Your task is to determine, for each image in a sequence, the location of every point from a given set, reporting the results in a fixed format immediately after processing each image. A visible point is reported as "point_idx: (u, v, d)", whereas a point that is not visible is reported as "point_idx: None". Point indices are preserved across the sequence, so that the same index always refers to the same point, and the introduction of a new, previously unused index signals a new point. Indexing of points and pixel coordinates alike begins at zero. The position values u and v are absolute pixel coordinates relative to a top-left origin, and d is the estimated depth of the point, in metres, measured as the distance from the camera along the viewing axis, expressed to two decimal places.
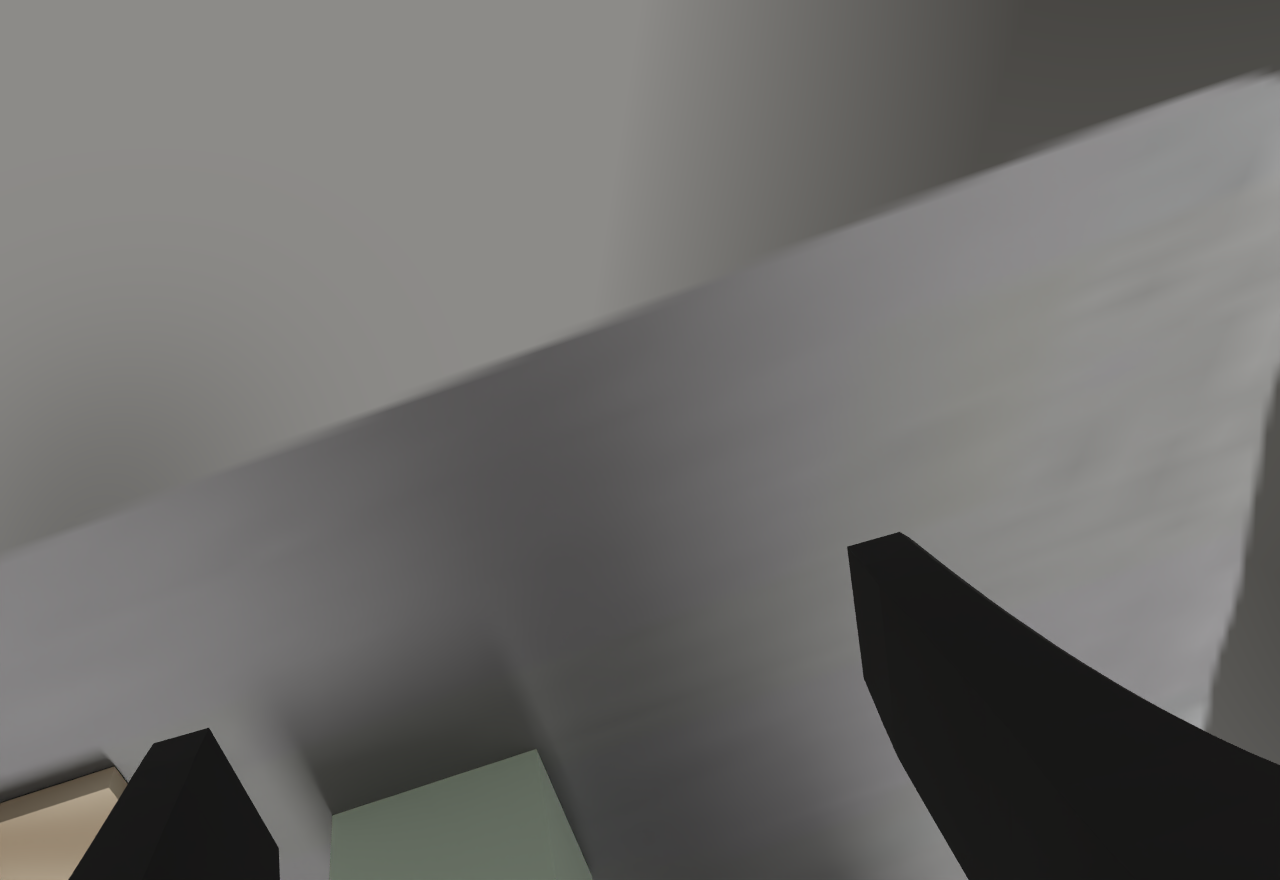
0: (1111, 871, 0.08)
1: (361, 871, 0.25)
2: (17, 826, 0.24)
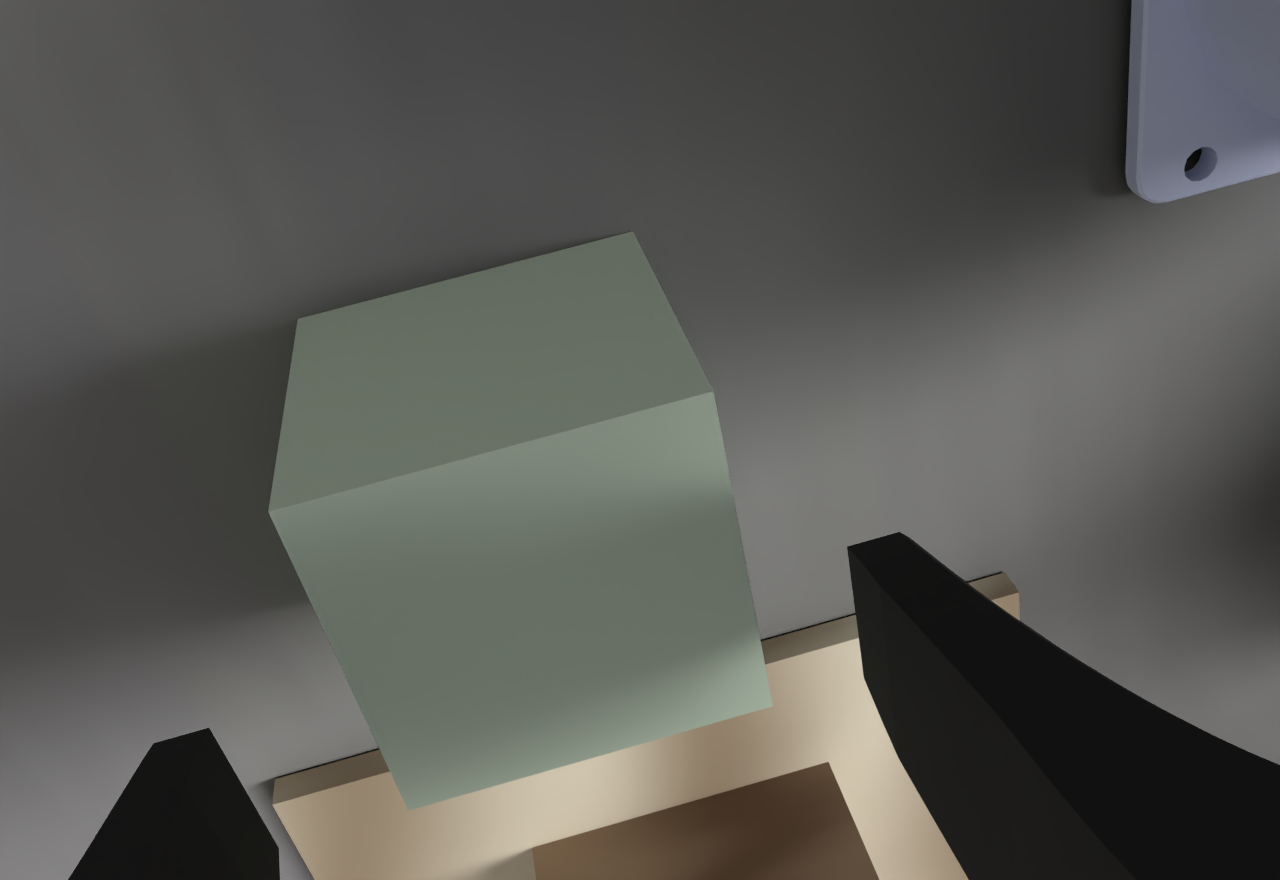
0: (1111, 871, 0.08)
1: None
2: (327, 874, 0.22)
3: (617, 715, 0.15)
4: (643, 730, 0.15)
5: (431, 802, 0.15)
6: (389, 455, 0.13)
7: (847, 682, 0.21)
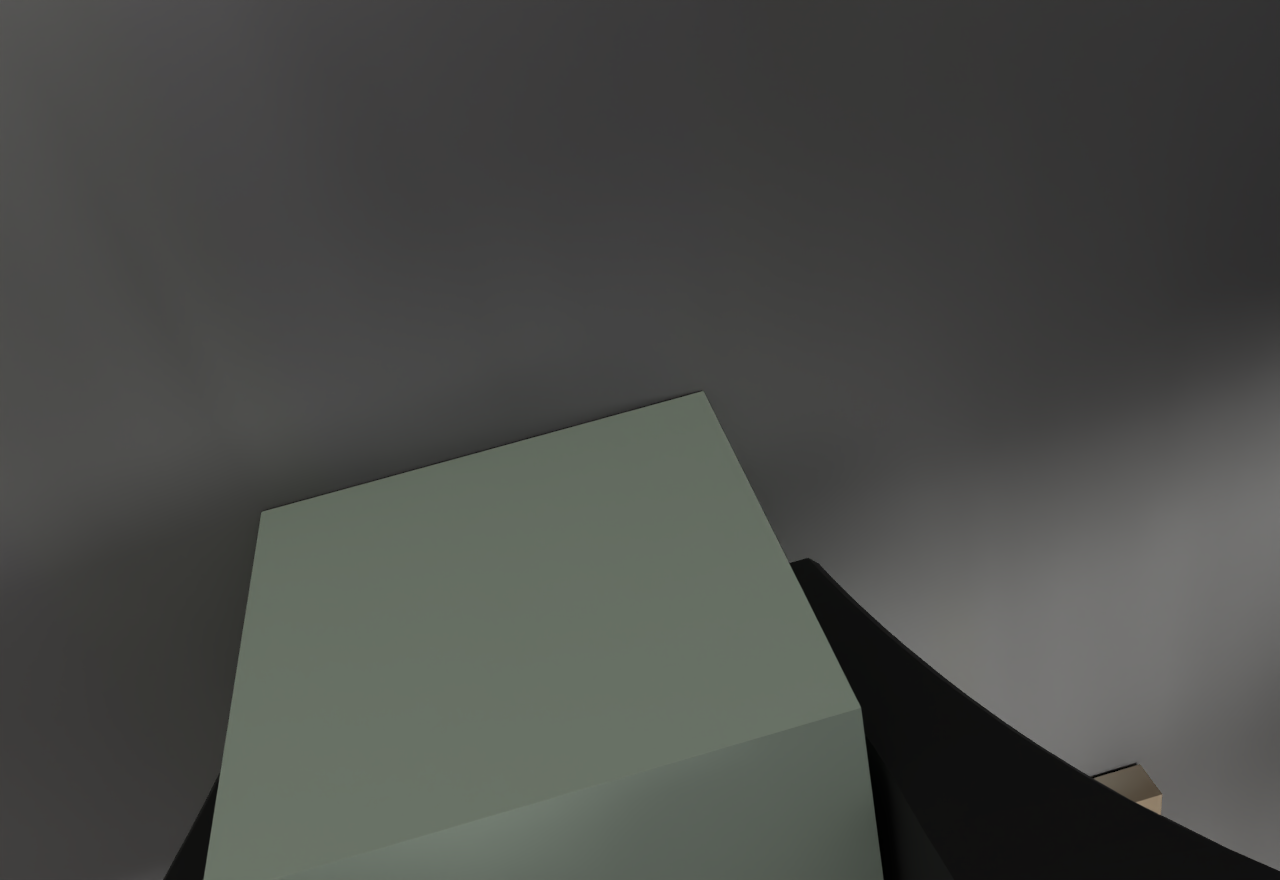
0: None
1: None
2: None
3: None
4: None
5: None
6: (383, 795, 0.09)
7: None
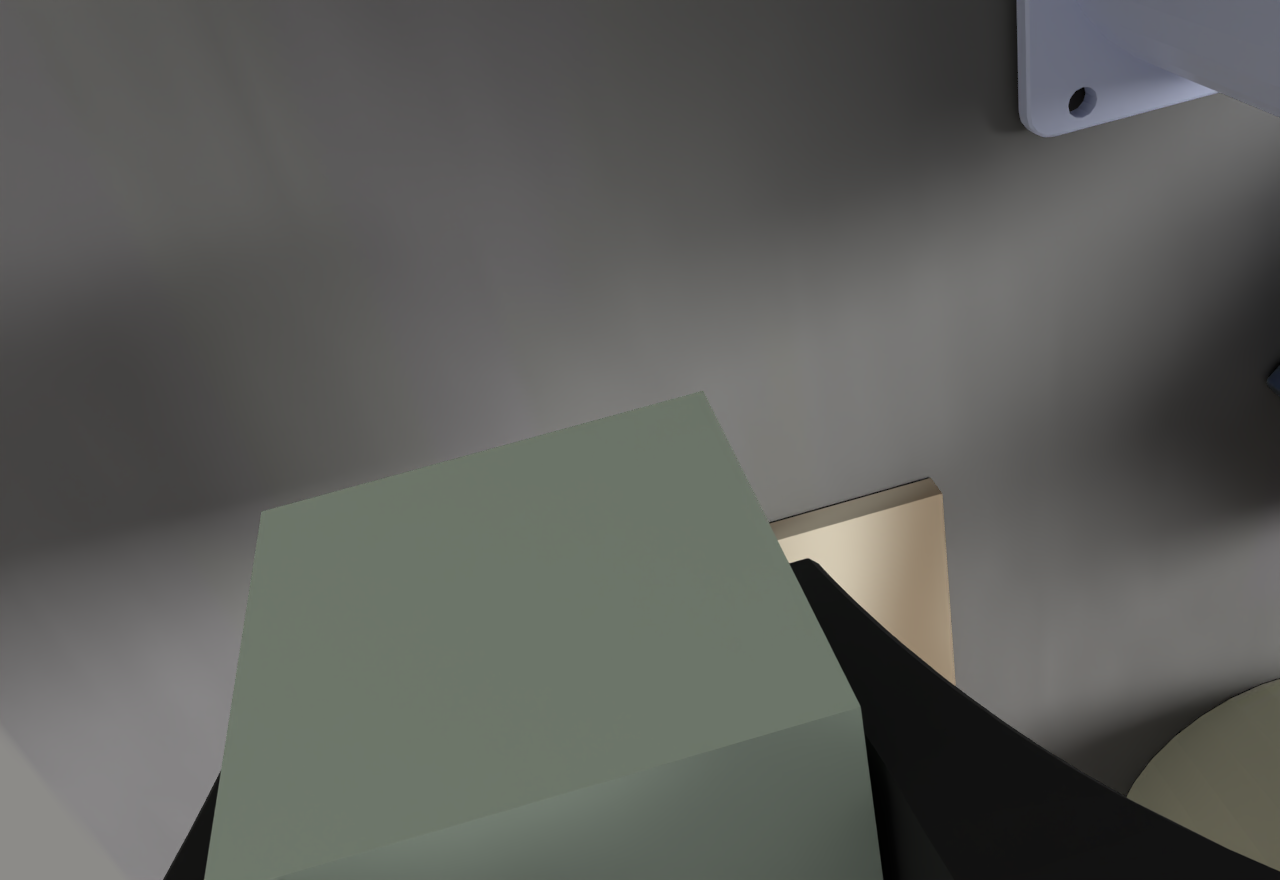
0: None
1: None
2: None
3: None
4: None
5: None
6: (383, 794, 0.09)
7: None
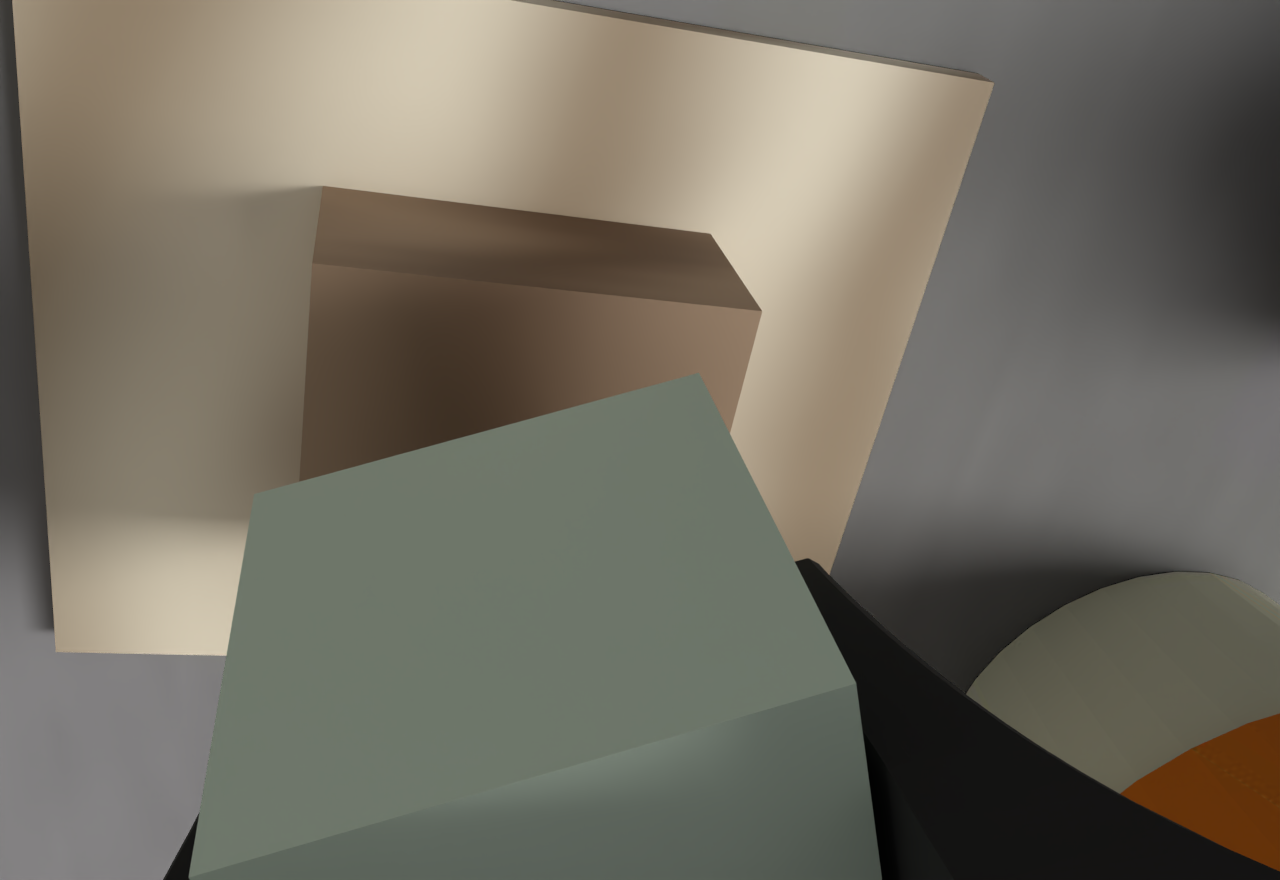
0: None
1: None
2: (38, 88, 0.15)
3: None
4: None
5: None
6: (373, 772, 0.09)
7: (775, 116, 0.18)
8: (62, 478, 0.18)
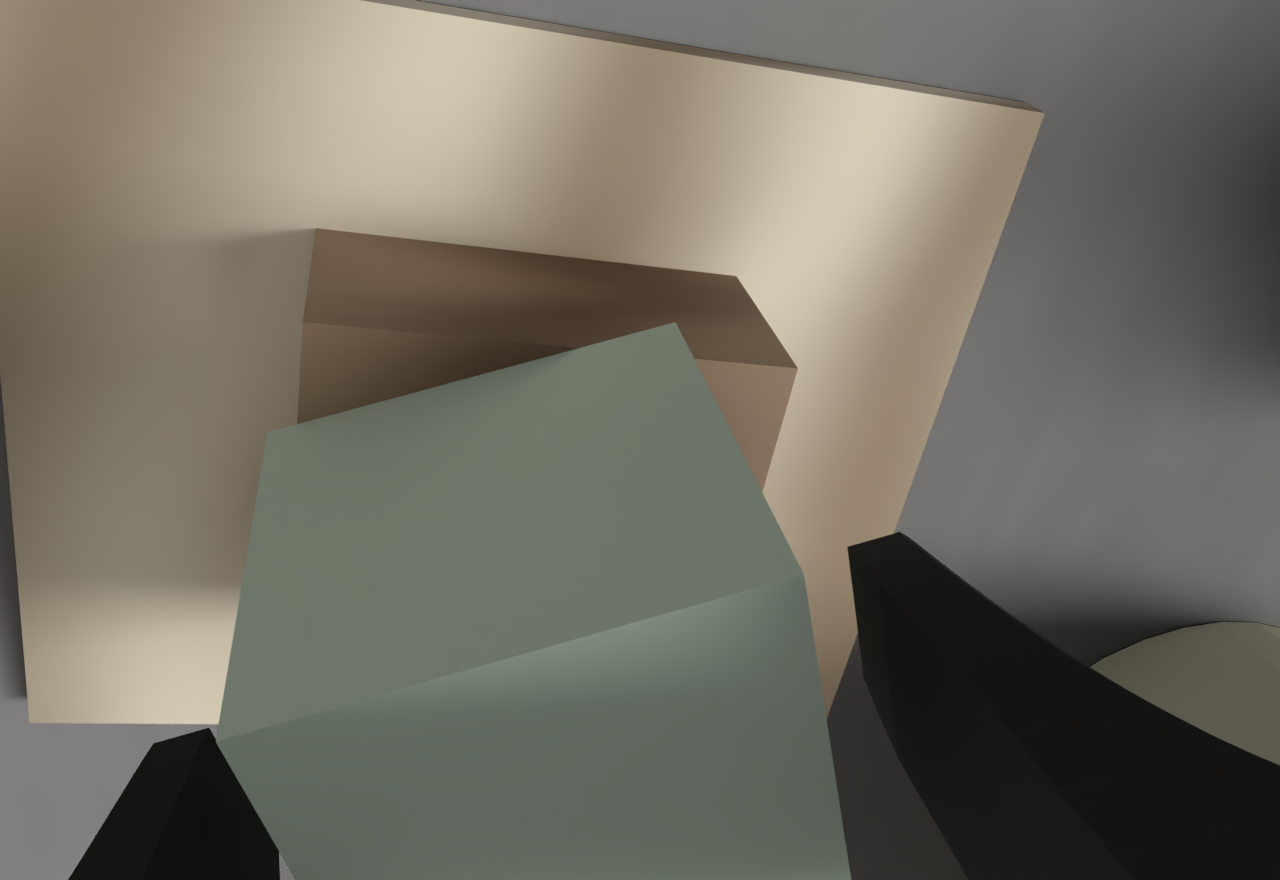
0: (1111, 870, 0.08)
1: None
2: (2, 125, 0.14)
3: None
4: None
5: None
6: (377, 655, 0.10)
7: (807, 150, 0.16)
8: (34, 541, 0.17)
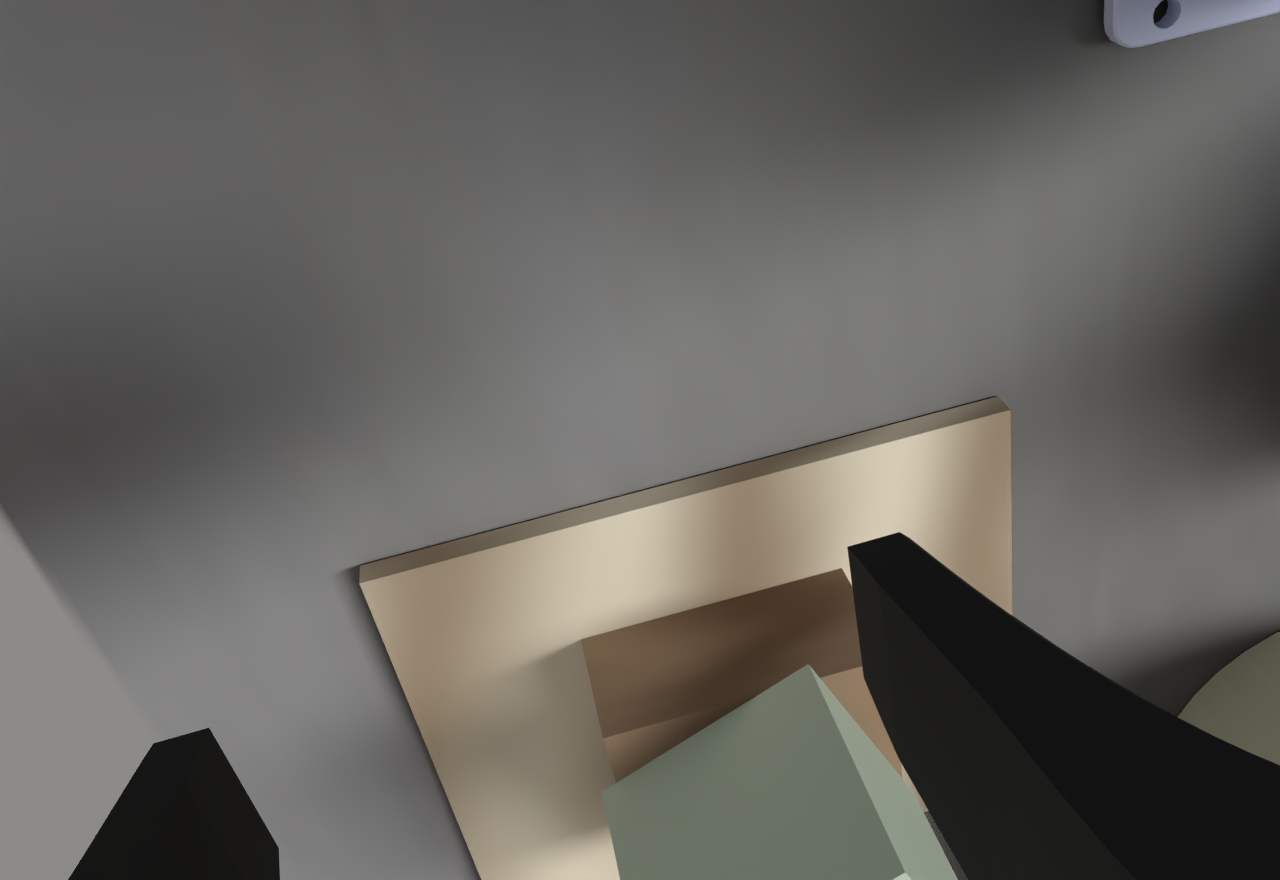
0: (1111, 871, 0.08)
1: None
2: (402, 656, 0.25)
3: None
4: None
5: None
6: None
7: (859, 490, 0.25)
8: (477, 842, 0.28)
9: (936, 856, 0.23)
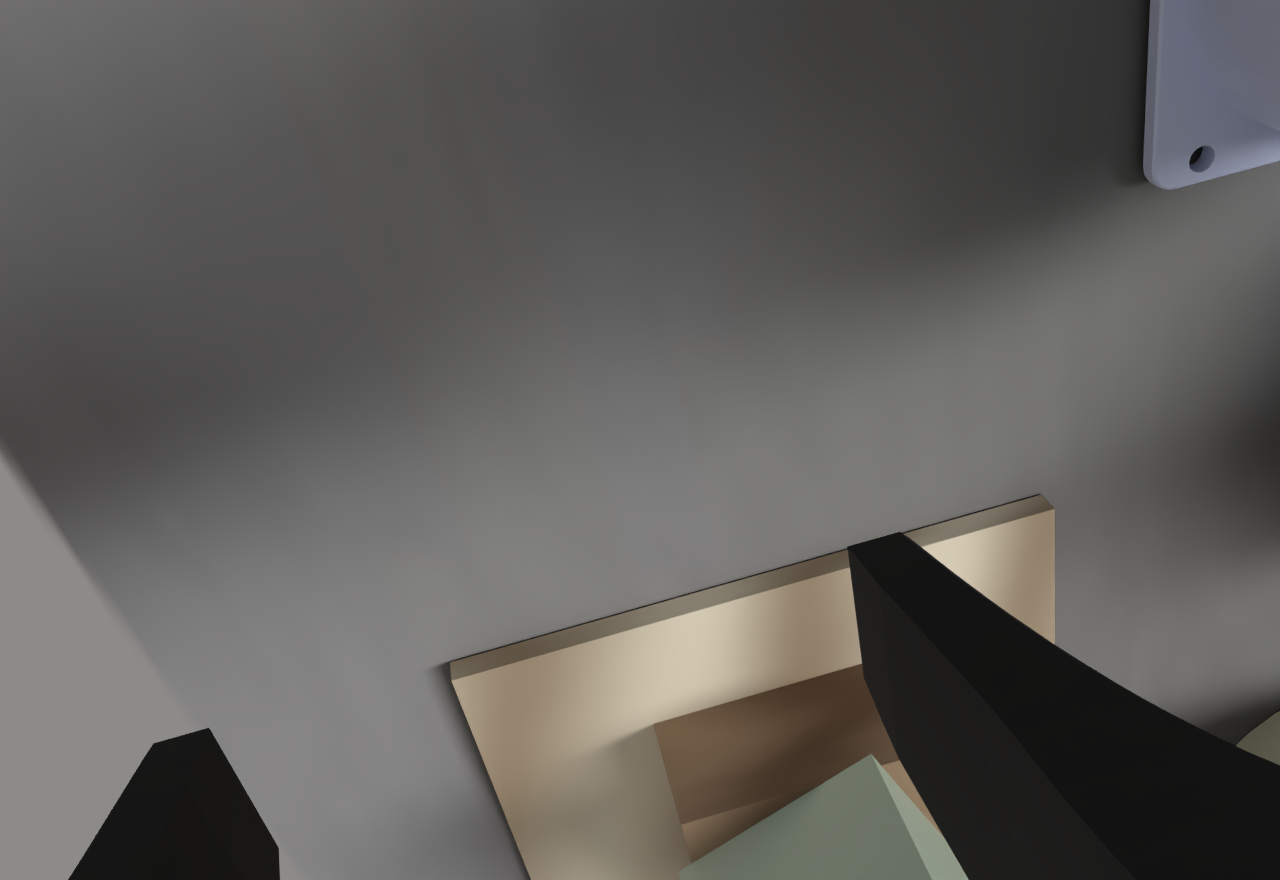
0: (1111, 871, 0.08)
1: None
2: (488, 743, 0.26)
3: None
4: None
5: None
6: None
7: None
8: None
9: None
